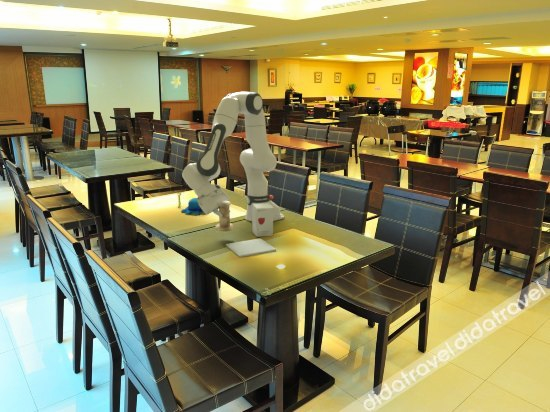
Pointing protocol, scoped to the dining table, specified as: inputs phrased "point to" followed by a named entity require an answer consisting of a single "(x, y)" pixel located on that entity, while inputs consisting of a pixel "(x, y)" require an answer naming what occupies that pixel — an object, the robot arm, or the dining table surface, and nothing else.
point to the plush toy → (193, 208)
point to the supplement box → (262, 220)
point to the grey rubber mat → (250, 247)
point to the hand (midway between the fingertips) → (225, 214)
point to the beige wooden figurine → (224, 217)
